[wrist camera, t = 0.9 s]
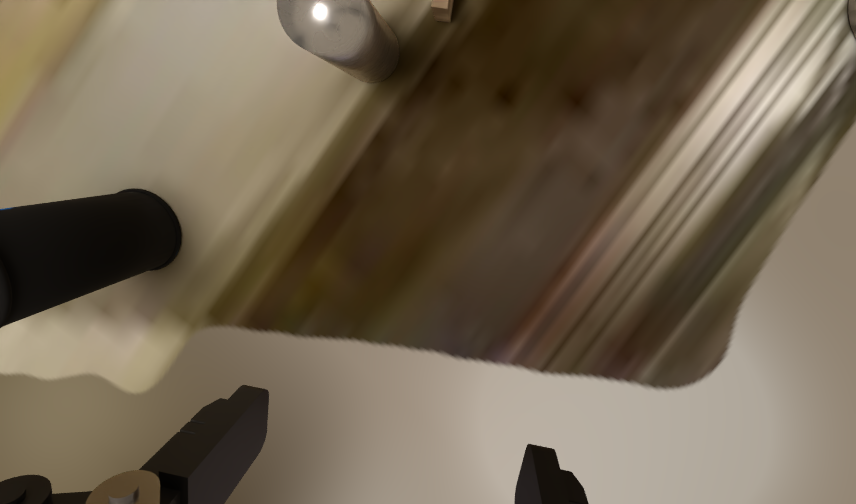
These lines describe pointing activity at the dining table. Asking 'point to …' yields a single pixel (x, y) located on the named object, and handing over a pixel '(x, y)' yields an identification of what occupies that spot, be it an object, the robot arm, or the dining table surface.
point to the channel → (442, 10)
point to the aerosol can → (80, 248)
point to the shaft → (343, 35)
